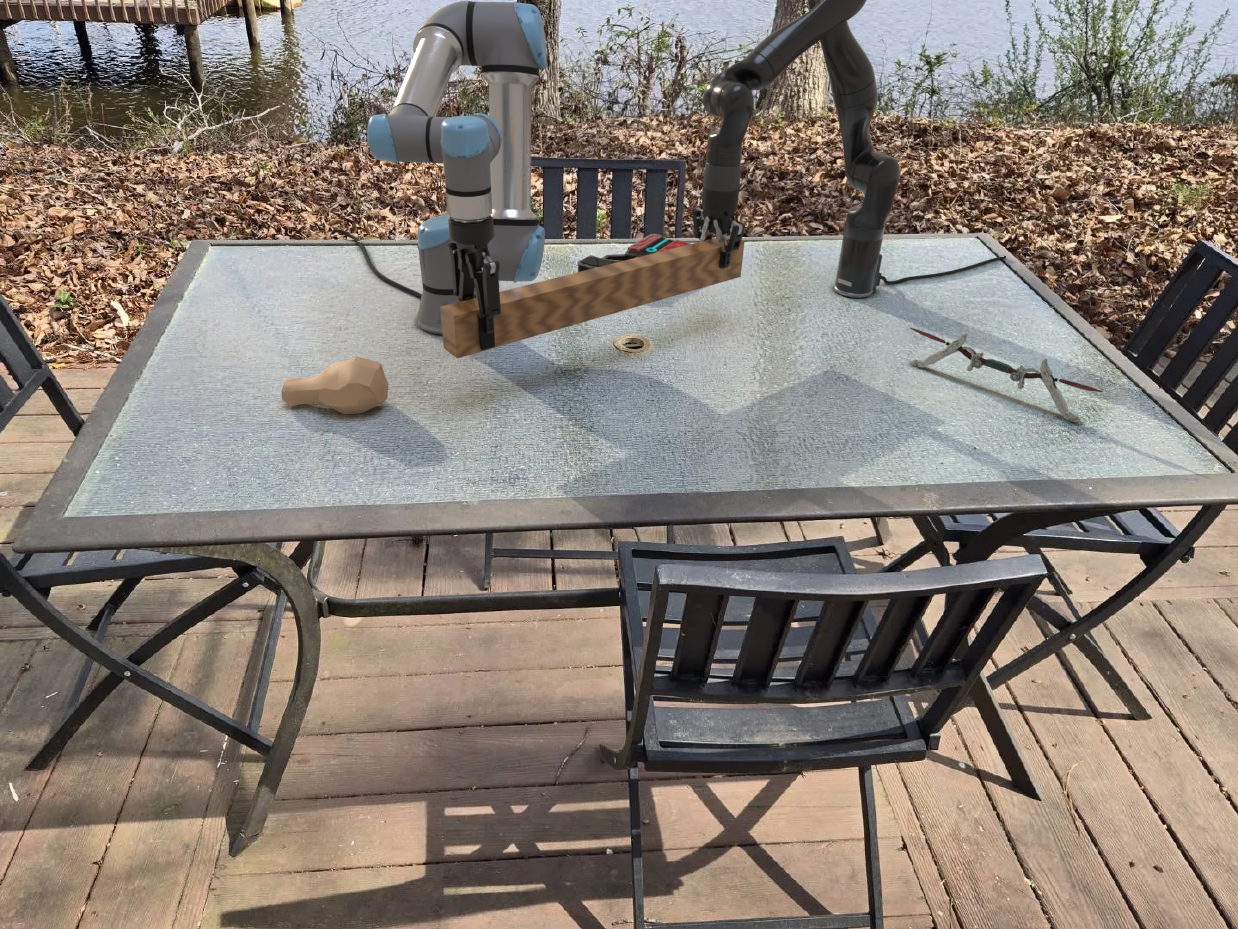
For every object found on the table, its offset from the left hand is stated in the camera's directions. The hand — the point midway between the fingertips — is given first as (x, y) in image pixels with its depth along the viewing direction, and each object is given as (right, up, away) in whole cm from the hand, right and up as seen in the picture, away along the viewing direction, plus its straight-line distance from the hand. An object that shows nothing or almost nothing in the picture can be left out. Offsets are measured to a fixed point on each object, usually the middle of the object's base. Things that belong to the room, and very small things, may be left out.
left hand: (479, 341), depth 160 cm
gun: (+30, +28, +66) cm, 78 cm away
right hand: (+46, +21, +29) cm, 59 cm away
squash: (-27, -11, +5) cm, 30 cm away
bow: (+100, -8, +16) cm, 102 cm away
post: (+23, +9, +16) cm, 29 cm away
